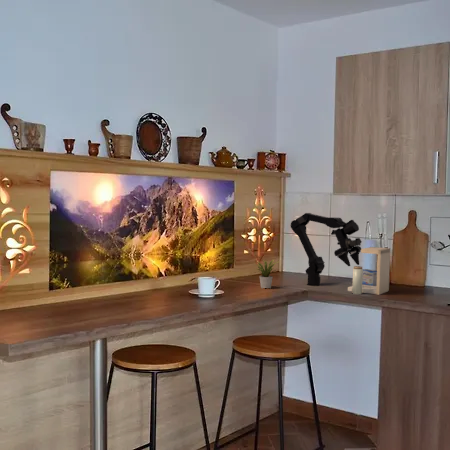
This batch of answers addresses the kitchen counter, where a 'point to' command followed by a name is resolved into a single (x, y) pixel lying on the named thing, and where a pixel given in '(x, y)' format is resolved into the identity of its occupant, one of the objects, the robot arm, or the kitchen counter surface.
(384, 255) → the light wood frame
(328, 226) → the robot arm
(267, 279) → the house plant
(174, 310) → the kitchen counter surface
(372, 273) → the medicine box
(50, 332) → the kitchen counter surface
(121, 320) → the kitchen counter surface
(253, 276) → the kitchen counter surface
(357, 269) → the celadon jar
